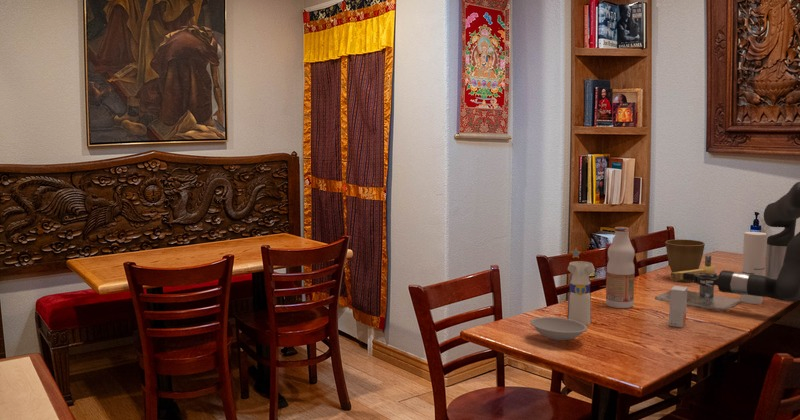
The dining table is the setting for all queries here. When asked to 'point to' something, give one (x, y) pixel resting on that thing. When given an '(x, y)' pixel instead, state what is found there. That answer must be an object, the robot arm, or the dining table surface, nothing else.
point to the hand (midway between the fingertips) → (683, 276)
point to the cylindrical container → (754, 260)
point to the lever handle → (692, 272)
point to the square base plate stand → (704, 296)
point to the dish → (558, 327)
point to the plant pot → (684, 255)
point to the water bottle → (580, 290)
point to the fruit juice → (620, 271)
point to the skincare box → (678, 306)
